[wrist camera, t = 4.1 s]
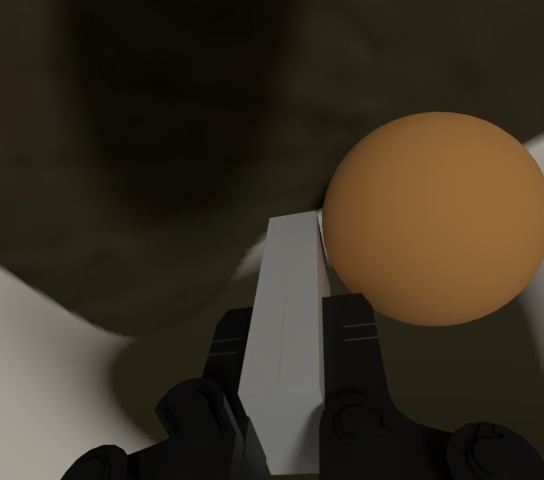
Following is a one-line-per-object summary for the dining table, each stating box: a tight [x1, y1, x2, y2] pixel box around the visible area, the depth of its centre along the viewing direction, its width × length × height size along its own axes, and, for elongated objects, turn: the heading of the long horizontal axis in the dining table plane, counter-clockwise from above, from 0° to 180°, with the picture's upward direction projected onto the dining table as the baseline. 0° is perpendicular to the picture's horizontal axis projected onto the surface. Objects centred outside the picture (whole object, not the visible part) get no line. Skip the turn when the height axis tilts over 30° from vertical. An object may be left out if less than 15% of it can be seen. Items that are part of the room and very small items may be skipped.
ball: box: [322, 112, 544, 326], centre depth 12 cm, size 6×6×6 cm
